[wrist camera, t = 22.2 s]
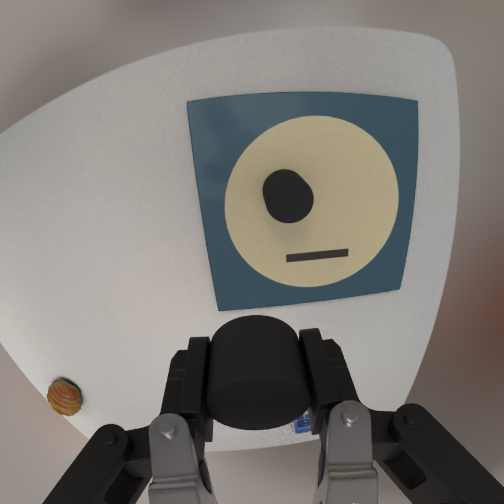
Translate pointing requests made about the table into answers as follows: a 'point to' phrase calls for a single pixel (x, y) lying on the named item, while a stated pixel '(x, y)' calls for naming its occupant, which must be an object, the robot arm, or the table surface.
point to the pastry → (64, 398)
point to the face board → (323, 187)
